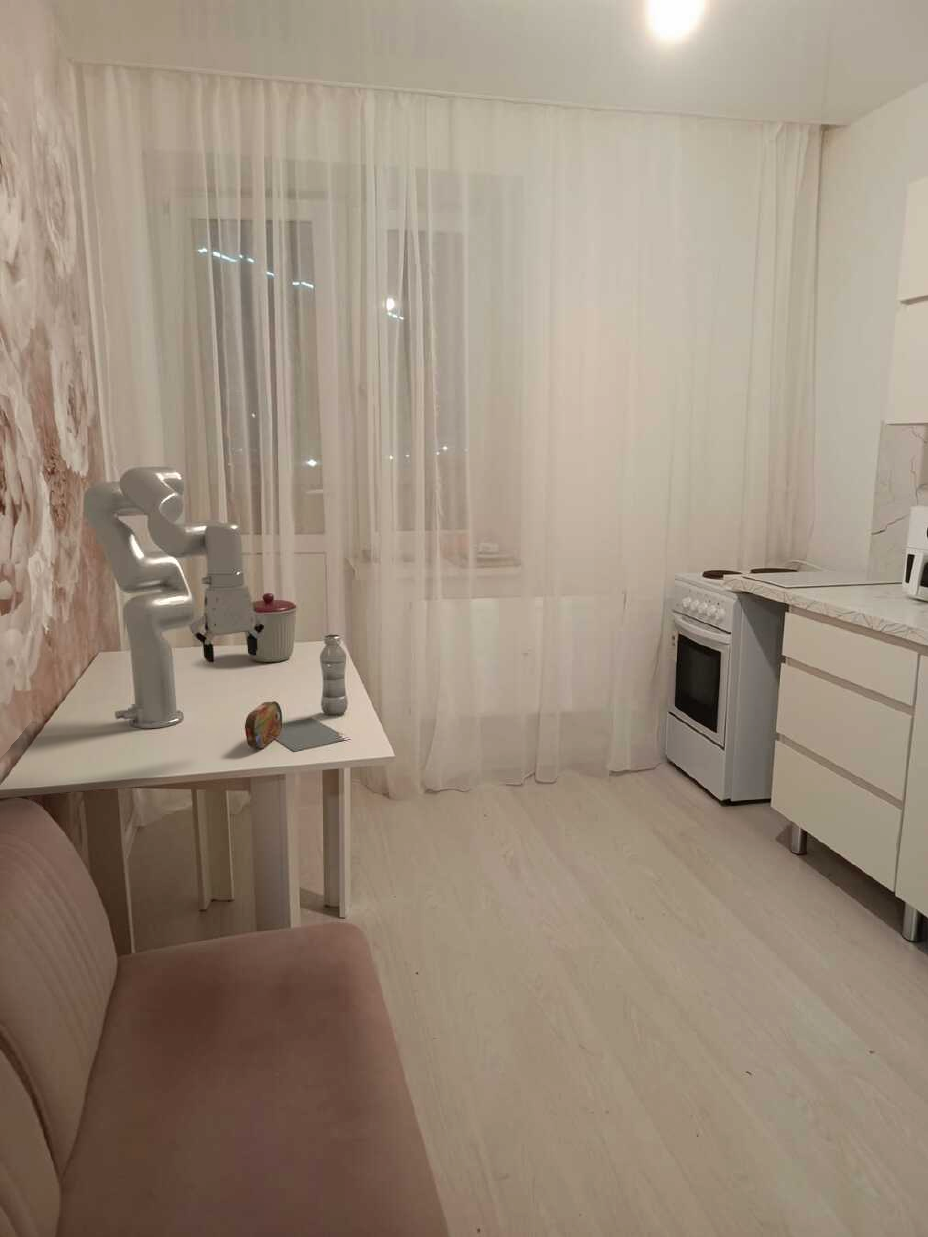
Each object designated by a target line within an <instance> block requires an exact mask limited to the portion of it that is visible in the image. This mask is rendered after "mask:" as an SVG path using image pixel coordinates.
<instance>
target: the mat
mask: <svg viewBox="0 0 928 1237" xmlns="http://www.w3.org/2000/svg"><path fill="white" fill-rule="evenodd" d="M339 734H342V735H344V734H343V733H341V732H339V731H337V730H335V729H333V728H331V727H330V726H328V725H326V724H324V723H322V722H320V721H318V720H317V719H315V718H314V717H306V718H302V719H298V720H297V719H296V720H292V721H288V722H282V727H281V731H280V733H279V735H278V736H277V737H276V738H275V739H274V741H276V742H278V743H279V744H280V745H283V746H284V747H286V748H287V749H289V750H290V751H292V752H293V753H296V752H300V751H304V749H305V750H308V748H310V749H313V748H312V747H314V748H318V747H317V746H319V747H321V746H320V745H323V746H327V745H331V744H336V742H337V743H340V742H339V741H341V742H344V741H343V740H344V739H345V738H342V736H340V735H339ZM347 737H348V736H346V738H347ZM341 738H342V739H341Z"/></svg>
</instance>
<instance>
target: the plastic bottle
mask: <svg viewBox="0 0 928 1237" xmlns="http://www.w3.org/2000/svg"><path fill="white" fill-rule="evenodd" d="M340 638H341V636H340V635H339V634H327V635H324V645H325V646H324V648H323V649H322V651H321V653H320V655H319V661H320V668H321V676H322V694H321V700H320V707H321V710H322V712H323V713H324V714H326V715H341V714H343V713H345V712H346V711H347V709H348V704H349V701H348V696H347V693H346V692H347V691H346V682H345V681H346V680H345V677H346V676H345V675H346V674H345V673H346V665H347V653H346V651H345V650H344V649H343V647H342V646H341V645H340V644H341V639H340Z"/></svg>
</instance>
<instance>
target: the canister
mask: <svg viewBox="0 0 928 1237" xmlns="http://www.w3.org/2000/svg"><path fill="white" fill-rule="evenodd" d="M252 604H253V610H254V611H255V612H257V613H260V614H263V615H265V616H267V620H266V623H265V625H264V628H263V630H262V631H261V632H260V634H259V636H258V637H257V647H258V650H257V651H256V656H253V655H251V654H249V657H250V658H251V659H252V660H254V661H256V662H261V663H277V662H281V661H286V660H288V659H290V658H291V656H293V653H294V649H295V648H294V646H295V637H296V636H295V634H296V619H297V610H298V609H299V606H298V605H297V604H295V603H294V602H292V601H290V600H289V601H288V600H283V599H275V596H274V594H273V593H272V592H266V593H264V594H263V595H262V600H256V601H252ZM254 618H255V617H254ZM257 624H258V619H257V618H255V626H256V625H257ZM244 635H245V640H246V642H245V643H247V637H248V636H249V634H248V633H247V632H244ZM246 646H247V645H246ZM246 648H248V646H247V647H246Z"/></svg>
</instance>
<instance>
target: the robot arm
mask: <svg viewBox="0 0 928 1237" xmlns="http://www.w3.org/2000/svg"><path fill="white" fill-rule="evenodd" d="M184 492H185V482H184V479H183V477H182V476H181V474H180V473H179V472H178V471H177V470H176V469H175V468H173V467H170V466H139V467H137V466H136V467H133V468H130V469H128V470H126V471H125V472H123V474H122V475H121V477H120V479H119V481H106V482H99V483H96V484H93V485H91V486H89V487H88V488H87V490H86V491H84V495H83V498H82V499H83V502H82V504H83V512H84V517H85V520H86V521H87V523H88V526H89V528H90V529H91V531H92V533H93V534H94V535H95V537H96V539H97V540H98V541H99V543H100V545H101V547H102V549H103V551H104V552H103V553H104V555H105V557H106V559H107V562H108V565H109V568H110V570H111V572H112V575H113V577H114V579H115V582H116V584H117V586H118V587H119V589H120V591H122V592H124V593H127V594H138V593H144V592H151V593H144V594H139V595H136V596H134V597H131V598H129V599H128V600H127V601H126V602H125V604H124V606H123V608H122V616H123V622H124V625H125V629H126V632H127V637H128V642H129V643H128V644H129V651H130V658H131V661H130V662H131V670H132V671H131V672H132V682H133V683H132V684H133V694H134V703H132V704H131V707H127V709H122V710H117V711H116V710H115V711H114V716H115V720H119V719H120V720H121V719H123V720H125V721H126V720H129V724H130V725H131V726H132V727H135V728H139V729H158V728H164V727H170V726H173V725H176V724H179V723H180V722H182V721H183V720H184V716H185V715H184V712H183V711H181V710H178V709H177V699H176V698H177V696H176V684H175V672H174V671H175V668H174V655H173V649H172V646H171V644H170V643H169V642H168V640H167V639H166V638H165V637H164V636H163V634H162V633H165V632H166V631H171V630H178V629H183V628H187V627H188V629H190V632H191V633H192V634H193V636H194V637H195V639H197V640H198V641H200V642H201V643H202V651H203V657H204V659H205V660H206V661H207V662H209V663H214V662H215V652H214V651H215V650H214V645H213V644H212V641H213V640H214V638H215V637H216V636H225V635H232V634H238V633H245V632H247V633H248V634H249V636H248V637H247V642H246V646H248V647H247V653H248V654H251V655H253V656H256V651H257V650H258V647H257V637H258V636H259V634H260V632H261V631H262V630H263V628H264V625H265V623H266V620H267V616H265V615H263V614H260V613H257V612H255V611H254V610H253V604H252V602H253V599H252V595H251V592H250V588H249V585H246V584H245V577H244V576H245V575H244V560H243V545H242V530H241V527H240V526H239V525H238V524H236V523H232V522H220V521H218V520H202V521H201V520H200V521H187V522H176V521H177V520H179V518H180V517H181V515H182V513H183V510H184V499H183V498H182V496H183V495H184ZM134 516H135V517H136V516H146V517H147V529H148V530H147V531H148V533H149V536H150V538H151V540H152V541H153V543H154V544H155V545H156V546H157V547H158V548H159V549H160V550H157V551H156V550H155V551H146V550H144V548H143V547H142V544H141V542H140V539H139V537H138V535H137V534H136V532H135V531H134V530H133V529H132V528H131V527H130V526H129V525H128V524H126V523H125V522H123V521H122V520H120V518H122V517H134ZM201 556H202V557H203V556H204V557H206V571H207V573H206V576H205V577H201V583H202V584H203V585H207V586H208V587H206V588H205V591H204V599H203V615H202V616H201V617H200V618H198V619H197V617H198V608H197V603H196V600H195V597H194V595H193V592H192V590H191V589H192V588H191V587H190V584H189V582H188V580H187V576H186V575H185V572H184V569H183V567H182V565H181V563H180V561H179V559H185V558H187V559H188V558H193V557H201ZM159 590H160V592H159ZM153 591H158V592H153ZM254 617H255V618H257V619H258V624H257V625H256V626H255V618H254ZM202 626H204V630H205V632H204V633H203V634H202V633H201V631H200V630H199V629H200V628H201V627H202Z"/></svg>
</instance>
